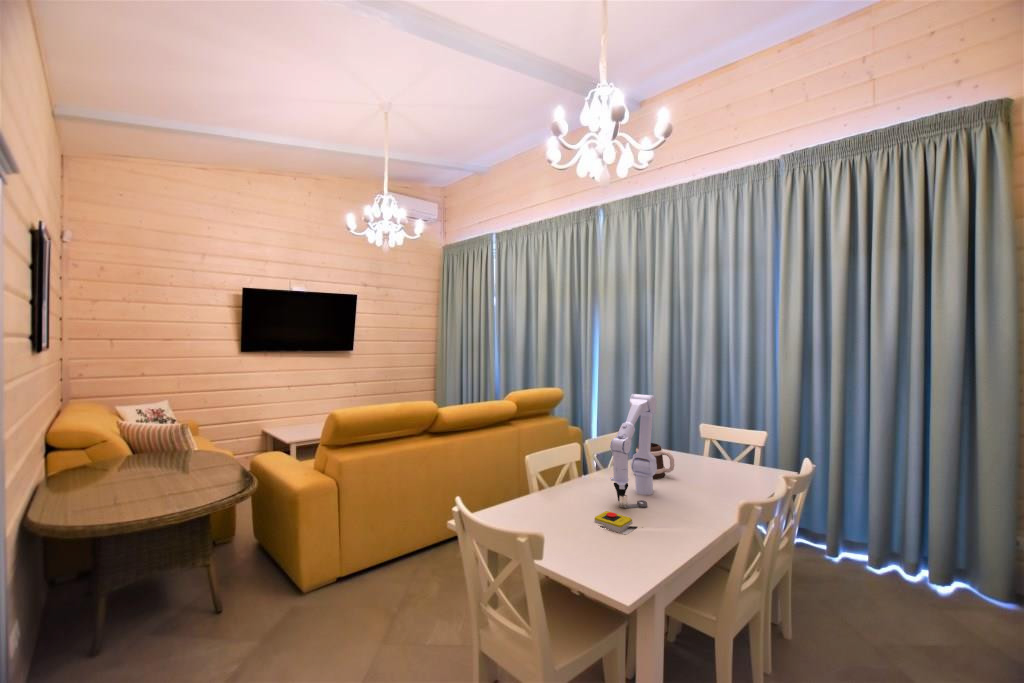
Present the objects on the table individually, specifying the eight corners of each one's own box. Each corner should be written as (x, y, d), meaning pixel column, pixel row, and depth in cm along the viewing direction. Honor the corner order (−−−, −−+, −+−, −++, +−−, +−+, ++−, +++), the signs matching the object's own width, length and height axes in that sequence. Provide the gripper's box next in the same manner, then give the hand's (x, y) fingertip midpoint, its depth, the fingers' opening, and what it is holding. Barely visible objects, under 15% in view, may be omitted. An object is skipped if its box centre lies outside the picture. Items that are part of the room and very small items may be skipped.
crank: (644, 503, 188) (644, 492, 188) (649, 507, 184) (648, 495, 184) (617, 506, 186) (617, 494, 186) (621, 509, 182) (621, 497, 182)
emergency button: (603, 506, 179) (638, 516, 169) (603, 517, 179) (638, 528, 169) (589, 513, 172) (625, 524, 162) (589, 525, 172) (625, 536, 162)
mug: (629, 476, 229) (628, 445, 229) (640, 468, 241) (640, 440, 241) (669, 483, 217) (669, 451, 217) (679, 475, 229) (679, 445, 229)
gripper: (609, 462, 194) (610, 494, 195) (611, 472, 180) (611, 507, 180) (626, 463, 193) (627, 495, 194) (630, 473, 179) (630, 508, 179)
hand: (621, 501), depth 187 cm, fingers closed
